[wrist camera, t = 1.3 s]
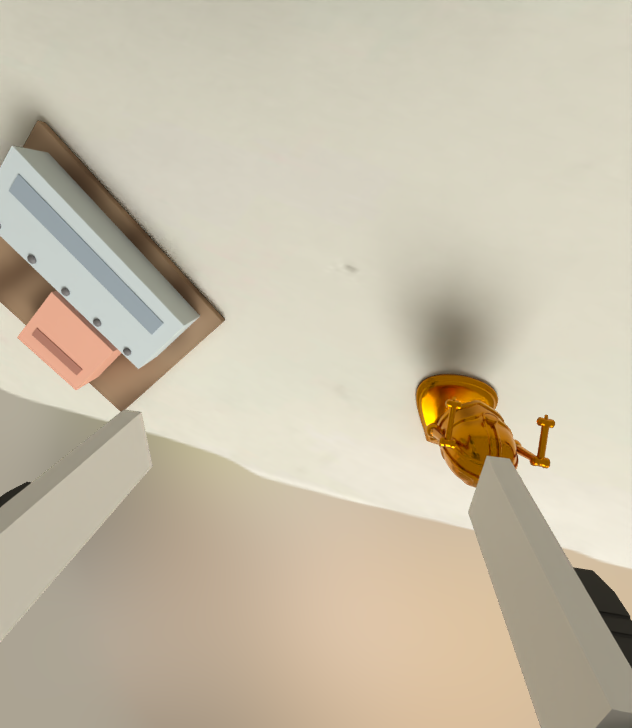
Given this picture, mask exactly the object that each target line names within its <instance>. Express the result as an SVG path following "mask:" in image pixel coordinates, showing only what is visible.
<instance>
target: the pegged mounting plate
mask: <svg viewBox="0 0 632 728" xmlns="http://www.w3.org/2000/svg"><path fill="white" fill-rule="evenodd" d="M0 236H1V237H2V238H3V239H4V240H5V241H6V242H7V243H8V244H9V245H10V246H11V247H12V248H13V249H14V250H15V251H16V252H17V253H19V254H20V255H21V256H22V257H23V258H24V259H25V260H26V261H27V262H28V263H29V264H30V265H31V266H32V267H33V268H34V269H35V270H36V271H37V272H38V273H39V274H40V275H41V276H42V277H43V278H44V279H45V280H46V281H48V282H49V283H50V284H51V285H52V286H53V287H54V288H55V289H56V290H57V291H58V292H59V293H60V294H61V295H62V296H63V297H64V298H65V299H66V300H67V301H68V302H69V303H70V304H71V305H72V306H73V307H74V308H76V309H77V310H78V311H79V312H80V313H81V314H82V315H83V316H84V317H85V318H86V319H87V320H88V321H89V322H90V323H91V324H92V325H93V326H94V327H95V328H96V329H97V330H98V331H99V332H100V333H101V334H102V335H104V336H105V337H106V338H107V339H108V340H109V341H110V342H111V343H112V344H113V345H114V346H115V347H116V348H117V349H118V350H119V351H120V352H121V353H122V354H123V355H124V356H125V357H126V358H127V359H128V360H129V361H130V362H132V363H133V364H134V365H135V366H136V367H137V368H138V369H139V368H141V367H142V366H144V365H145V364H147V363H148V362H150V361H151V360H153V359H154V358H156V357H157V356H158V355H159V354H160V353H161V352H163V351H164V350H165V349H166V348H167V347H168V346H169V345H170V344H171V343H172V342H173V341H174V340H175V339H176V338H177V337H179V336H180V335H181V334H182V333H183V332H184V331H185V330H186V329H187V328H188V327H189V326H190V325H191V324H192V323H193V322H194V321H196V320H197V319H198V318H199V317H200V315H199V314H198V313H197V312H196V311H195V310H194V309H193V308H192V307H191V305H190V304H189V303H188V302H187V301H186V300H185V299H184V298H183V297H182V296H181V295H180V294H179V293H178V291H177V290H176V289H175V288H174V287H173V286H172V285H171V284H170V283H169V282H168V281H167V280H166V279H165V278H164V276H163V275H162V274H161V273H160V272H159V271H158V270H157V269H156V268H155V267H154V266H153V265H152V264H151V262H150V261H149V260H148V259H147V258H146V257H145V256H144V255H143V254H142V253H141V252H140V251H139V250H138V248H137V247H136V246H135V245H134V244H133V243H132V242H131V241H130V240H129V239H128V238H127V237H126V236H125V235H124V233H123V232H122V231H121V230H120V229H119V228H118V227H117V226H116V225H115V224H114V223H113V222H112V221H111V219H110V218H109V217H108V216H107V215H106V214H105V213H104V212H103V211H102V210H101V209H100V208H99V207H98V205H97V204H96V203H95V202H94V201H93V200H92V199H91V198H90V197H89V196H88V195H87V194H86V193H85V192H84V190H83V189H82V188H81V187H80V186H79V185H78V184H77V183H76V182H75V181H74V180H73V179H72V178H71V176H70V175H69V174H68V173H67V172H66V171H65V170H64V169H63V168H62V167H61V166H60V165H59V164H58V163H57V161H56V160H55V159H54V158H53V157H52V156H51V155H50V154H49V153H48V152H43V151H38V150H33V149H28V148H23V147H17V146H11V148H10V150H9V152H8V154H7V156H6V158H5V159H4V161H3V163H2V165H1V167H0Z"/></svg>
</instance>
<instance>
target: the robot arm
mask: <svg viewBox="0 0 632 728" xmlns="http://www.w3.org/2000/svg"><path fill="white" fill-rule="evenodd" d="M151 467H152V461H151V456H150V452H149V447H148V441H147V437H146V432H145V427H144V422H143V417H142V412H138V411H130V410H123V411H121V412H120V413H119V414H118V415H116V416H115V417H114V418H113V419H111V420H110V421H109V422H108V423H106V424H105V425H104V426H103V427H101V428H100V429H99V430H97V431H96V432H95V433H94V434H92V435H91V436H90V437H89V438H87V439H86V440H85V441H84V442H82V443H81V444H80V445H79V446H77V447H76V448H75V449H74V450H72V451H71V452H70V453H69V454H67V455H66V456H65V457H63V458H62V459H61V460H60V461H58V462H57V463H56V464H55V465H53V466H52V467H51V468H50V469H48V470H47V471H46V472H44V473H43V474H42V475H41V476H39V477H38V478H37V479H36V480H34V481H33V482H32V483H31V482H26V483H24V484H22V485H20V486H18V487H16V488H14V489H13V490H10V491H9V492H7V493H5V494H4V495H2V496H1V497H0V642H1V641H2V640H3V639H4V638H5V636H6V635H7V634H8V633H9V632H10V631H11V629H12V628H13V627H14V626H15V625H16V624H17V623H18V621H19V620H20V619H21V618H22V617H23V615H24V614H25V613H26V612H27V611H28V610H29V608H30V607H31V606H32V605H33V604H34V603H35V602H36V600H37V599H38V598H39V597H40V596H41V595H42V593H43V592H44V591H45V590H46V589H47V588H48V587H49V585H50V584H51V583H52V582H53V581H54V580H55V578H56V577H57V576H58V575H59V574H60V573H61V572H62V570H63V569H64V568H65V567H66V566H67V565H68V563H69V562H70V561H71V560H72V559H73V558H74V556H75V555H76V554H77V553H78V552H79V551H80V549H81V548H82V547H83V546H84V545H85V544H86V543H87V541H88V540H89V539H90V538H91V537H92V536H93V534H94V533H95V532H96V531H97V530H98V529H99V527H100V526H101V525H102V524H103V523H104V522H105V521H106V519H107V518H108V517H109V516H110V514H112V512H113V511H114V510H115V509H116V508H117V507H118V505H119V504H120V503H121V502H122V501H123V500H124V498H125V497H126V496H127V495H128V494H129V493H130V492H131V490H132V489H133V488H134V487H135V486H136V485H137V483H138V482H139V481H140V480H141V479H142V478H143V477H144V475H145V474H146V473H147V472H148V471H149V469H150V468H151ZM468 513H469V516H470V519H471V522H472V525H473V528H474V531H475V534H476V537H477V540H478V543H479V546H480V549H481V552H482V555H483V558H484V560H485V563H486V566H487V569H488V572H489V575H490V578H491V581H492V584H493V587H494V590H495V593H496V596H497V599H498V602H499V605H500V607H501V611H502V614H503V617H504V620H505V623H506V625H507V628H508V631H509V635H510V637H511V641H512V643H513V646H514V649H515V652H516V655H517V658H518V661H519V664H520V667H521V670H522V673H523V676H524V679H525V682H526V685H527V688H528V691H529V694H530V697H531V700H532V703H533V706H534V709H535V712H536V715H537V718H538V721H539V723H540V726H541V728H632V621H631V619H630V615H629V614H628V612H627V611H626V609H625V607H624V606H623V604H622V603H621V602H620V600H619V598H618V597H617V595H616V594H615V592H614V591H613V590H612V589H611V588H610V587H609V586H608V585H607V584H606V583H605V582H604V581H603V580H602V579H601V578H600V577H599V576H598V575H597V574H596V573H595V572H594V571H592V570H585V569H579V568H573V567H572V565H571V563H570V562H569V560H568V558H567V557H566V555H565V553H564V552H563V550H562V548H561V546H560V544H559V543H558V541H557V539H556V538H555V536H554V534H553V532H552V531H551V529H550V527H549V525H548V524H547V522H546V520H545V519H544V517H543V515H542V513H541V512H540V510H539V508H538V507H537V505H536V503H535V501H534V500H533V498H532V496H531V495H530V493H529V491H528V489H527V488H526V486H525V484H524V483H523V481H522V479H521V477H520V476H519V474H518V472H517V471H516V469H515V467H514V465H513V464H512V462H511V460H510V459H508V458H501V457H493V456H487V457H486V460H485V463H484V466H483V469H482V472H481V475H480V478H479V481H478V484H477V487H476V490H475V493H474V496H473V499H472V502H471V505H470V508H469V511H468Z"/></svg>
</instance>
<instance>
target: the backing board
mask: <svg viewBox="0 0 632 728" xmlns="http://www.w3.org/2000/svg"><path fill="white" fill-rule="evenodd" d="M23 148H28V149H33V150H38V151H43V152H48V153H49V154H50V155H51V156H52V157H53V158H54V159H55V160H56V161H57V163H58V164H59V165H60V166H61V167H62V168H63V169H64V170H65V171H66V172H67V173H68V174H69V175H70V176H71V178H72V179H73V180H74V181H75V182H76V183H77V184H78V185H79V186H80V187H81V188H82V189H83V190H84V192H85V193H86V194H87V195H88V196H89V197H90V198H91V199H92V200H93V201H94V202H95V203H96V204H97V205H98V207H99V208H100V209H101V210H102V211H103V212H104V213H105V214H106V215H107V216H108V217H109V218H110V219H111V221H112V222H113V223H114V224H115V225H116V226H117V227H118V228H119V229H120V230H121V231H122V232H123V233H124V235H125V236H126V237H127V238H128V239H129V240H130V241H131V242H132V243H133V244H134V245H135V246H136V247H137V248H138V250H139V251H140V252H141V253H142V254H143V255H144V256H145V257H146V258H147V259H148V260H149V261H150V262H151V264H152V265H153V266H154V267H155V268H156V269H157V270H158V271H159V272H160V273H161V274H162V275H163V276H164V278H165V279H166V280H167V281H168V282H169V283H170V284H171V285H172V286H173V287H174V288H175V289H176V290H177V291H178V293H179V294H180V295H181V296H182V297H183V298H184V299H185V300H186V301H187V302H188V303H189V304H190V305H191V307H192V308H193V309H194V310H195V311H196V312H197V313H198V314H199V315H200V317H199V318H198V319H197V320H196V321H194V322H193V323H192V324H191V325H190V326H189V327H188V328H187V329H186V330H185V331H184V332H183V333H182V334H181V335H180V336H179V337H177V338H176V339H175V340H174V341H173V342H172V343H171V344H170V345H169V346H168V347H167V348H166V349H165V350H164V351H163V352H161V353H160V354H159V355H158V356H157V357H156V358H154V359H153V360H151V361H150V362H148V363H147V364H145V365H144V366H142V367H141V368H139V369H138V368H137V367H136V366H135V365H134V364H133V363H132V362H130V361H129V360H128V359H127V358H126V357H125V356H124V355H123V354H122V353H121V354H120V355H119V356H118V357H117V358H116V359H115V360H114V361H113V362H112V363H111V364H110V365H109V366H108V367H107V368H106V369H105V370H104V371H103V372H102V374H101V375H100V376H99V377H97V378H96V379H94V380H92V381H91V382H89V383H90V384H91V385H92V386H93V387H94V388H95V389H97V390H98V391H99V392H100V393H101V394H102V395H103V396H104V397H105V398H106V399H108V400H109V401H110V402H111V403H112V404H113V405H114V406H115V407H116V408H117V409H118V410H120V411H123V410H125V409H126V408H127V407H128V406H130V405H131V404H132V403H133V402H134V401H135V400H136V399H137V398H138V397H140V396H141V395H142V394H143V393H144V392H145V391H146V390H147V389H149V388H150V387H151V386H152V385H153V384H154V383H155V382H156V381H157V380H159V379H160V378H161V377H162V376H163V375H164V374H165V373H166V372H168V371H169V370H170V369H171V368H172V367H173V366H174V365H175V364H176V363H178V362H179V361H180V360H181V359H182V358H183V357H184V356H185V355H187V354H188V353H189V352H190V351H191V350H192V349H193V348H194V347H196V346H197V345H198V344H199V343H200V342H201V341H202V340H203V339H204V338H206V337H207V336H208V335H209V334H210V333H211V332H212V331H213V330H215V329H216V328H217V327H218V326H219V325H220V324H221V323H222V322H223V321H225V319H224V318H223V317H222V316H221V315H220V314H219V312H218V311H217V310H216V309H215V308H214V307H213V306H212V305H211V304H210V303H209V302H208V300H207V299H206V298H205V297H204V296H203V295H202V294H201V293H200V292H199V291H198V289H197V288H196V287H195V286H194V285H193V284H192V283H191V282H190V281H189V280H188V278H187V277H186V276H185V275H184V274H183V273H182V272H181V271H180V270H179V269H178V267H177V266H176V265H175V264H174V263H173V262H172V261H171V260H170V259H169V258H168V257H167V255H166V254H165V253H164V252H163V251H162V250H161V249H160V248H159V247H158V246H157V244H156V243H155V242H154V241H153V240H152V239H151V238H150V237H149V236H148V235H147V233H146V232H145V231H144V230H143V229H142V228H141V227H140V226H139V225H138V224H137V222H136V221H135V220H134V219H133V218H132V217H131V216H130V215H129V214H128V213H127V212H126V210H125V209H124V208H123V207H122V206H121V205H120V204H119V203H118V202H117V201H116V199H115V198H114V197H113V196H112V195H111V194H110V193H109V192H108V191H107V190H106V188H105V187H104V186H103V185H102V184H101V183H100V182H99V181H98V180H97V179H96V177H95V176H94V175H93V174H92V173H91V172H90V171H89V170H88V169H87V168H86V166H85V165H84V164H83V163H82V162H81V161H80V160H79V159H78V158H77V157H76V156H75V154H74V153H73V152H72V151H71V150H70V149H69V148H68V147H67V146H66V145H65V143H64V142H63V141H62V140H61V139H60V138H59V137H58V136H57V135H56V134H55V132H54V131H53V130H52V129H51V128H50V127H49V126H48V125H47V124H46V123H45V122H42V121H37V123H36V125H35V126H34V128H33V130H32V132H31V133H30V135H29V137H28V139H27V141H26V142H25V144H24V146H23ZM54 291H57V290H56V289H55V288H54V287H53V286H52V285H51V284H50V283H49V282H48V281H46V280H45V279H44V278H43V277H42V276H41V275H40V274H39V273H38V272H37V271H36V270H35V269H34V268H33V267H32V266H31V265H30V264H29V263H28V262H27V261H26V260H25V259H24V258H23V257H22V256H21V255H20V254H19V253H17V252H16V251H15V250H14V249H13V248H12V247H11V246H10V245H9V244H8V243H7V242H6V241H5V240H4V239H3V238H2V237H1V236H0V302H1V303H2V304H3V305H4V306H5V307H6V308H8V309H9V310H10V311H11V312H12V313H13V314H14V315H15V316H16V317H17V318H19V319H20V320H21V321H22V322H23V323H24V324H25V325H27V324H28V322H29V321H30V320H31V319H32V317H33V316H34V315H35V313H36V312H37V311H38V309H39V308H40V307H41V305H42V304H43V303H44V301H45V300H46V299H47V297H48V296H49V295H50V293H51V292H54Z"/></svg>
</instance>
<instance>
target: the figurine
mask: <svg viewBox="0 0 632 728" xmlns="http://www.w3.org/2000/svg"><path fill="white" fill-rule="evenodd" d="M497 403H498V397H497V394H496V392H495V391H494V390H493V388H492V387H490V386H489V385H488V384H486V383H484V382H483V381H480V380H478V379H475V378H472V377H468V376H464V375H457V374H440V375H434V376H431V377H428V378H426V379H425V380H423V381H422V382H421V383H420V384H419V386H418V388H417V391H416V404H417V409H418V413H419V416H420V420H421V423H422V426H423V429H424V432H425V436H426V440H427V441H429V442H431V443H434V444H438V445H439V446H440V450H441V454H442V457H443V458H444V459H445V461H446V463H447V465H448V467H449V468H450V469H451V471H452V472H453V473H454V474H455V475H456V476H457V477H458V478H460V479H461V480H462V481H463V482H464V483H465V484H467V485H469V486H472V487H475V488H476V487H477V484H478V481H479V478H480V475H481V472H482V469H483V466H484V463H485V460H486V457H487V456H493V457H501V458H508V459H510V460H511V462H512V464H513V465H514V467H515V469H517V467H518V455H520V456H523V457H525V458H527V459H529V460H530V464H531V465H532V466H540V467H543V468H549V466H550V460H549V459H548V458H545V452H546V445H547V438H548V432H549V428H553V427H554V426H555V421H554V420H552V419H548V415H545V417H544V418H541V417H539V418H538V419H537V424H538V425H539V426H541V434H540V441H539V447H538V454H537V456H536V455H534V454H532V453H531V452H529V451H528V450H526V449H525V448H523V447H522V446H521V444H520V442H519V441H517V440H515V439H513V435H512V432H511V430H510V429H509V427H508V426H507V425H506V424H505V423H504V420H503V418H502V417H501V415H500V414H499V413H498V412H497V411H496V410H495V408H496V406H497ZM517 454H518V455H517Z"/></svg>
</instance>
